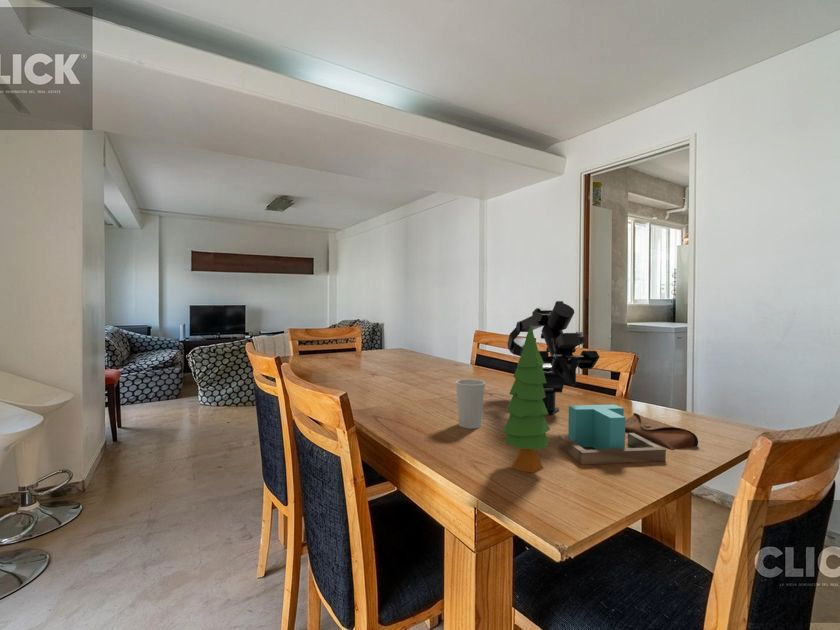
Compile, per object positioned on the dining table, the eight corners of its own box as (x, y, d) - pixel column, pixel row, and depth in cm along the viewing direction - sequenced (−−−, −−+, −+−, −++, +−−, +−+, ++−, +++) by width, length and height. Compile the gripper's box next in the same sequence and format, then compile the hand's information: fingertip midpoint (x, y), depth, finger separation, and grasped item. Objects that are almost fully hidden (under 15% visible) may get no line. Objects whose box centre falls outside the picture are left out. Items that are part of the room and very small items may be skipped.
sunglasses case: (611, 427, 108) (621, 405, 109) (627, 437, 110) (636, 415, 111) (674, 450, 91) (685, 424, 92) (691, 462, 93) (702, 436, 94)
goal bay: (558, 445, 94) (558, 435, 94) (633, 443, 96) (633, 432, 96) (582, 464, 83) (582, 452, 83) (665, 460, 85) (665, 449, 85)
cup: (451, 426, 108) (451, 383, 108) (462, 418, 115) (462, 378, 115) (479, 431, 104) (479, 386, 104) (488, 423, 111) (488, 380, 111)
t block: (568, 441, 97) (568, 405, 96) (614, 440, 98) (615, 404, 98) (591, 459, 86) (592, 418, 86) (642, 456, 87) (643, 416, 87)
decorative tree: (533, 480, 76) (535, 324, 75) (492, 465, 82) (493, 322, 81) (555, 464, 83) (557, 322, 82) (515, 452, 90) (517, 321, 88)
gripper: (533, 322, 110) (549, 367, 99) (596, 322, 112) (619, 366, 101) (522, 347, 118) (537, 392, 107) (581, 347, 120) (601, 390, 109)
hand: (573, 385), depth 106 cm, fingers closed
